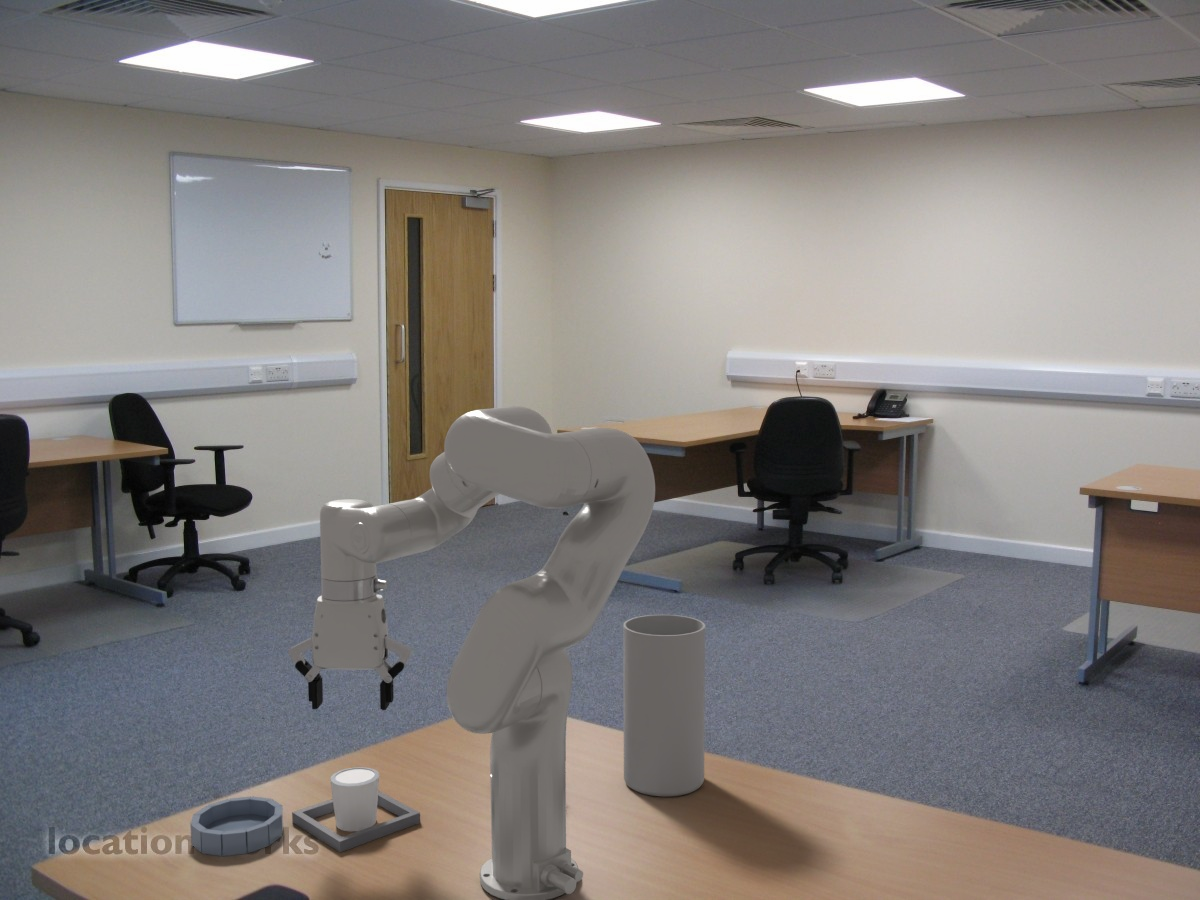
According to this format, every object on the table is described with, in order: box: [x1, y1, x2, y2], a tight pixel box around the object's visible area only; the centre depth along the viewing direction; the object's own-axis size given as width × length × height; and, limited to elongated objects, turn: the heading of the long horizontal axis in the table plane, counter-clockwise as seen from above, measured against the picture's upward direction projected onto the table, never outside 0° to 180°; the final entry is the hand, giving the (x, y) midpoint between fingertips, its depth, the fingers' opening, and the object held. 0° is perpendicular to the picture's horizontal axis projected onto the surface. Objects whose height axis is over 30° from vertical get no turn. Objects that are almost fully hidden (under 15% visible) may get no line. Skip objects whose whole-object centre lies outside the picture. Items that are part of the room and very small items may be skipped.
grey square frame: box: [291, 790, 421, 853], centre depth 158 cm, size 13×13×2 cm
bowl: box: [190, 795, 284, 857], centre depth 154 cm, size 12×12×3 cm
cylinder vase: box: [622, 614, 706, 798], centre depth 171 cm, size 12×12×25 cm
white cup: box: [329, 766, 380, 832], centre depth 158 cm, size 7×7×7 cm
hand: (351, 706), depth 157 cm, fingers open, 9 cm apart
